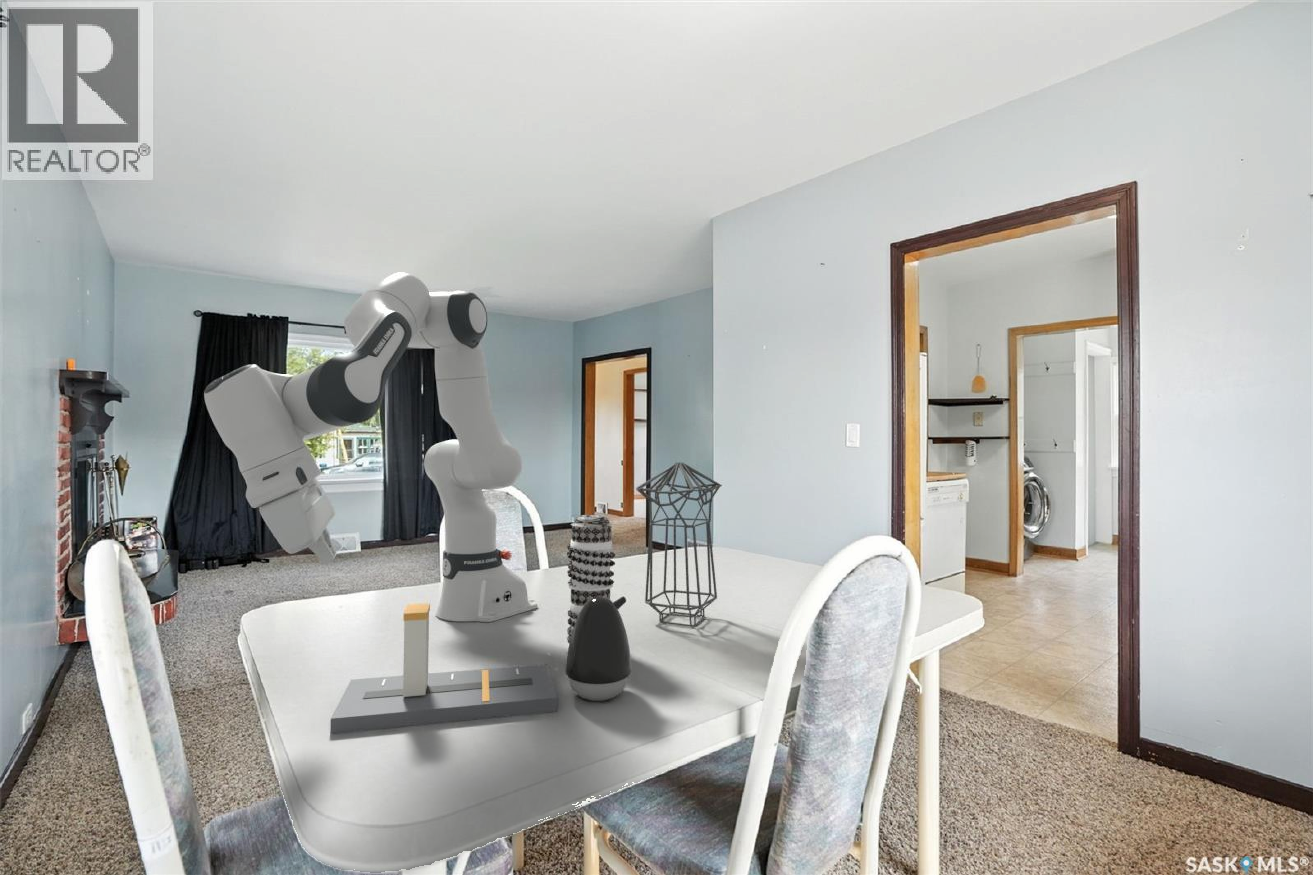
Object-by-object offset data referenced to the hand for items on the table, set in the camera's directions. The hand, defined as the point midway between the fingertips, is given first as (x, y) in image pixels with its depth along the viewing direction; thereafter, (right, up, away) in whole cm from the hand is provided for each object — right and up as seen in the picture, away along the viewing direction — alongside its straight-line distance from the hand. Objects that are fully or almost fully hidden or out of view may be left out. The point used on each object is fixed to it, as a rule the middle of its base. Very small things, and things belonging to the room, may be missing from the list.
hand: (330, 560), depth 94 cm
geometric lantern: (+53, -22, +46) cm, 74 cm away
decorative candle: (+36, -22, +27) cm, 50 cm away
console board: (+17, -21, +1) cm, 28 cm away
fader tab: (+13, -19, 0) cm, 23 cm away
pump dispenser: (+39, -22, +5) cm, 45 cm away
